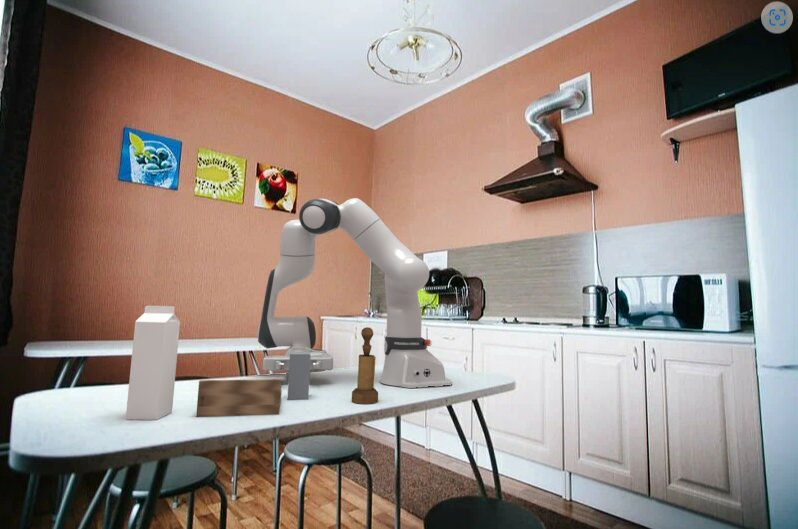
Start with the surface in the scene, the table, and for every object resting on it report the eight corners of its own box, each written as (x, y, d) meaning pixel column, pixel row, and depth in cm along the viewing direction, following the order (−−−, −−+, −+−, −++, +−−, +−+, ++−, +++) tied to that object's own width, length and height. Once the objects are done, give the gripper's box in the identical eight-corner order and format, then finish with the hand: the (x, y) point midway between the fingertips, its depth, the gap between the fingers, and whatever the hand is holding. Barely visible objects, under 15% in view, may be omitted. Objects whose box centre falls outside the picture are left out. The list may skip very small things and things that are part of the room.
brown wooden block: (281, 398, 101) (282, 369, 101) (278, 414, 86) (280, 380, 86) (211, 400, 97) (213, 370, 97) (196, 416, 82) (199, 381, 83)
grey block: (307, 395, 105) (309, 352, 106) (308, 399, 100) (310, 354, 101) (287, 395, 104) (290, 352, 105) (287, 400, 99) (289, 354, 100)
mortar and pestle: (373, 405, 96) (376, 328, 98) (347, 403, 98) (351, 327, 100) (380, 399, 103) (383, 327, 105) (356, 397, 104) (358, 326, 106)
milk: (156, 420, 79) (167, 306, 81) (124, 420, 78) (136, 305, 81) (172, 412, 85) (182, 306, 87) (142, 411, 84) (153, 305, 87)
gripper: (264, 350, 125) (260, 355, 112) (331, 350, 130) (335, 355, 117) (263, 371, 125) (259, 378, 111) (330, 370, 130) (334, 377, 116)
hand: (298, 366), depth 114 cm, fingers open, 8 cm apart
